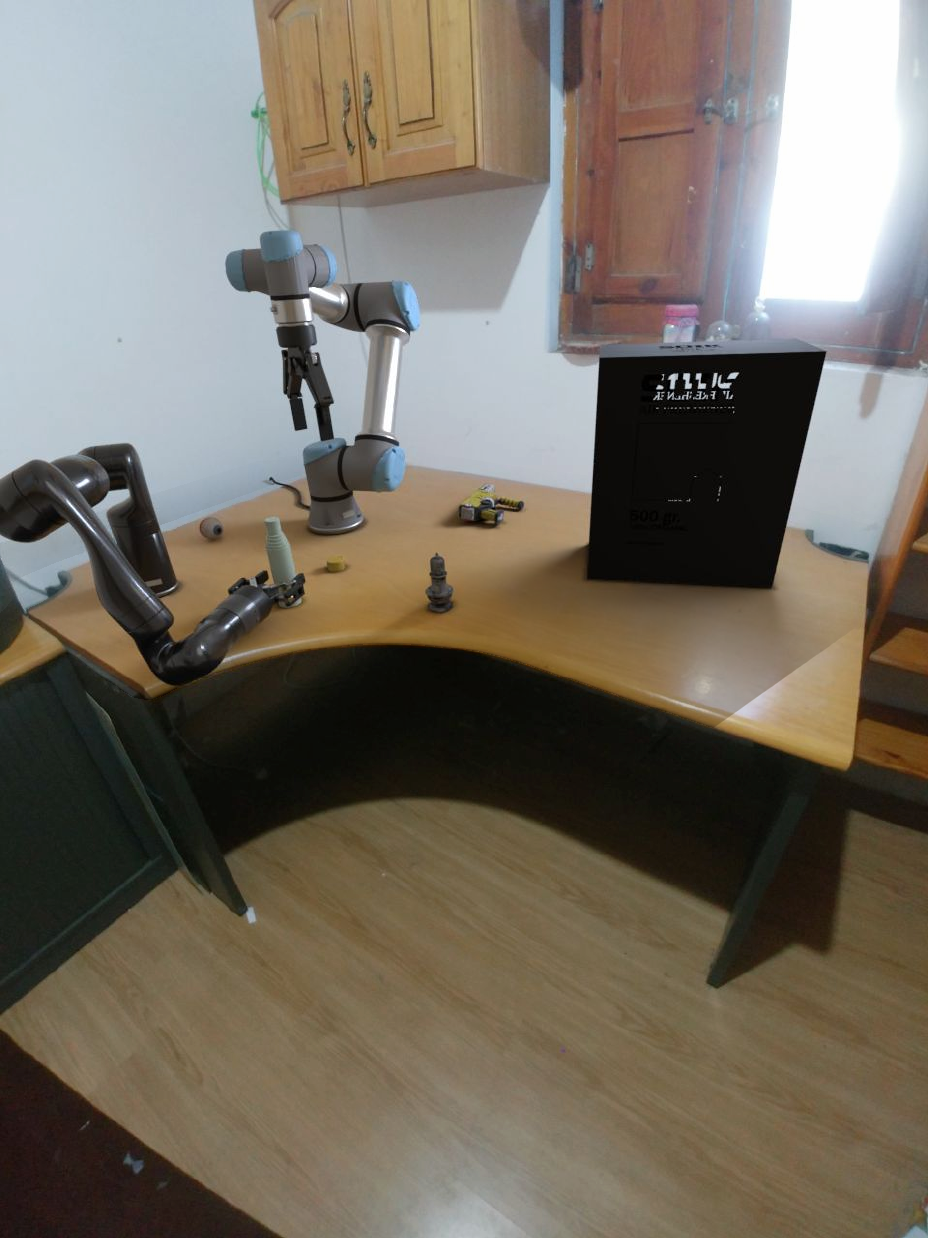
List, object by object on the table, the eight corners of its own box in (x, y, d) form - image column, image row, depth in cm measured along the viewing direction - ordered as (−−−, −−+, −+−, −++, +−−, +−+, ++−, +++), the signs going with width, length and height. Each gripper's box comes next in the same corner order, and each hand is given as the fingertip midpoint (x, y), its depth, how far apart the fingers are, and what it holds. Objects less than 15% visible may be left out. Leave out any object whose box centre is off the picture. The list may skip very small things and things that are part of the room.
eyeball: (213, 544, 161) (207, 523, 158) (198, 540, 164) (191, 520, 161) (231, 536, 165) (225, 516, 162) (216, 533, 168) (210, 512, 165)
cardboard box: (752, 548, 142) (795, 338, 119) (772, 587, 124) (826, 351, 102) (589, 543, 149) (600, 344, 127) (586, 579, 132) (599, 357, 110)
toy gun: (532, 488, 178) (484, 481, 182) (510, 513, 158) (457, 504, 162) (530, 504, 181) (483, 496, 185) (509, 529, 161) (456, 520, 165)
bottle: (274, 604, 130) (254, 521, 120) (291, 595, 133) (273, 513, 124) (289, 609, 127) (270, 525, 118) (306, 600, 131) (288, 517, 121)
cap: (332, 573, 142) (331, 564, 141) (325, 568, 145) (323, 559, 144) (348, 568, 144) (346, 559, 143) (340, 563, 147) (338, 554, 146)
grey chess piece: (451, 613, 122) (447, 559, 116) (423, 611, 123) (418, 558, 117) (457, 599, 127) (454, 547, 121) (430, 598, 128) (425, 546, 122)
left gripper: (270, 598, 110) (311, 561, 123) (203, 592, 113) (250, 557, 127) (279, 633, 114) (318, 593, 127) (213, 626, 117) (258, 588, 131)
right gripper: (254, 324, 125) (275, 428, 136) (302, 328, 107) (322, 448, 118) (288, 320, 129) (306, 422, 139) (340, 324, 111) (356, 440, 122)
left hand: (284, 575), depth 127 cm, fingers open, 8 cm apart
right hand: (313, 434), depth 129 cm, fingers open, 13 cm apart
